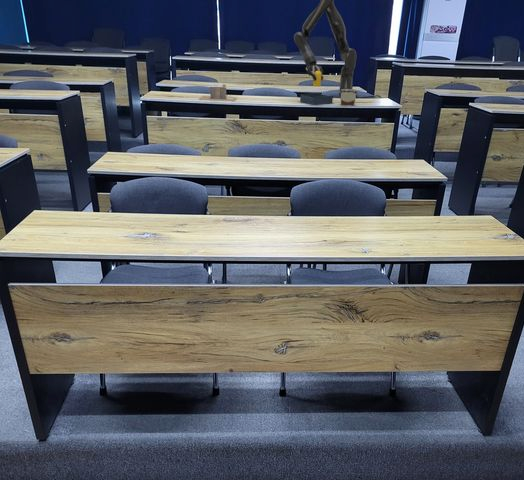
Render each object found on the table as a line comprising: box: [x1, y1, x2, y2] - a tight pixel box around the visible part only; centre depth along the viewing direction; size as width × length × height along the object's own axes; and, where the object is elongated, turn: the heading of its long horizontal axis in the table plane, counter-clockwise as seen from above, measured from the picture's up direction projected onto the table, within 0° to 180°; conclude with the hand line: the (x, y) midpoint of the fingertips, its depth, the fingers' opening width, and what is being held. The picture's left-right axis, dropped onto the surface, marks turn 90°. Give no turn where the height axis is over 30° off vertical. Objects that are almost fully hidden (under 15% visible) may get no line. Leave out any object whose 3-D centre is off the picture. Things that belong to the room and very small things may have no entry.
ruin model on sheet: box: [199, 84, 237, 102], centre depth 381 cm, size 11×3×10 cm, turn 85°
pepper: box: [312, 69, 323, 87], centre depth 371 cm, size 6×6×11 cm
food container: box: [340, 88, 358, 107], centre depth 372 cm, size 12×6×10 cm, turn 84°
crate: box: [299, 92, 334, 106], centre depth 378 cm, size 18×16×5 cm
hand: (318, 79), depth 370 cm, fingers closed on pepper, 5 cm apart
